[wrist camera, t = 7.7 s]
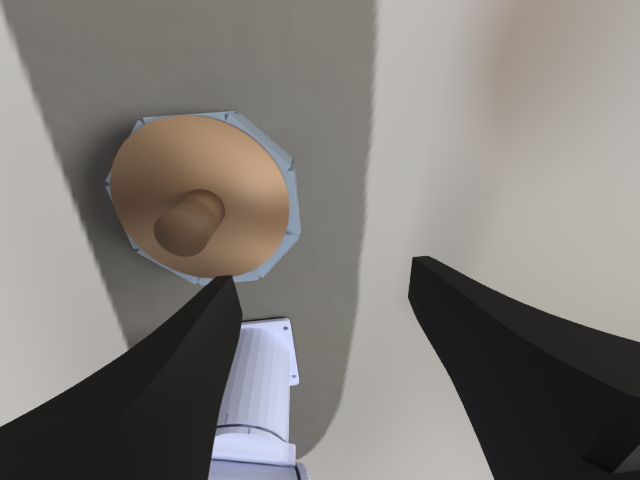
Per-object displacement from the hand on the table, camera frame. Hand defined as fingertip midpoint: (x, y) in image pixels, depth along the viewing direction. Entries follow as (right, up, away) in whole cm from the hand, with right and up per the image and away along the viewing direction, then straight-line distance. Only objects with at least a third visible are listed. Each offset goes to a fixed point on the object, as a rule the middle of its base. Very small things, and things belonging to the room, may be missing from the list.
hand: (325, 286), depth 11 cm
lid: (-7, +4, +6) cm, 10 cm away
